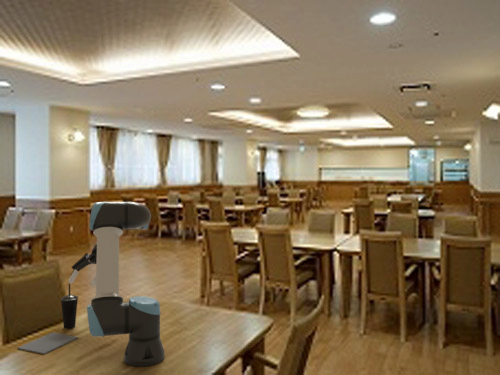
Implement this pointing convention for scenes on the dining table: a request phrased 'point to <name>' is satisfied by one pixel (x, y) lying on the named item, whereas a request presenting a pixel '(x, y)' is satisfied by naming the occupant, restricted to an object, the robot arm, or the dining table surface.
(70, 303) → the drinking cup
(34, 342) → the placemat
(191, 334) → the dining table surface
